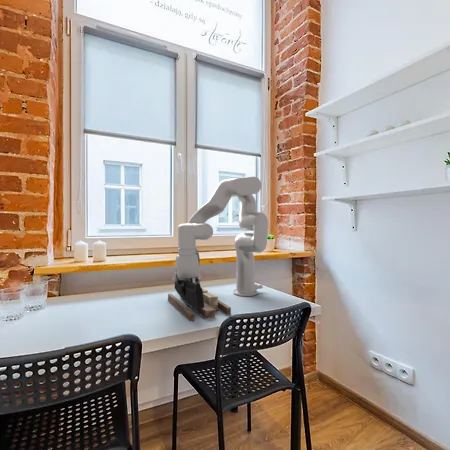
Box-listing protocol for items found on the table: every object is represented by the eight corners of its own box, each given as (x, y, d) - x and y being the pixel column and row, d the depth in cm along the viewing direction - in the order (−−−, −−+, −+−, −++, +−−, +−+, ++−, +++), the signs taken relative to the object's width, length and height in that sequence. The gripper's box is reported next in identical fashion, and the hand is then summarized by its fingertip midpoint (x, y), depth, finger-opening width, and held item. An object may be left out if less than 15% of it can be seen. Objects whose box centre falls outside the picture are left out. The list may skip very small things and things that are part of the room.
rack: (201, 295, 151) (201, 290, 151) (230, 314, 122) (230, 307, 122) (168, 300, 143) (168, 293, 143) (190, 321, 115) (190, 313, 115)
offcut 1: (201, 299, 146) (201, 287, 145) (207, 303, 138) (207, 290, 138) (193, 300, 144) (193, 287, 144) (199, 304, 137) (199, 291, 136)
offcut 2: (210, 305, 136) (210, 292, 136) (217, 310, 129) (217, 296, 128) (202, 306, 134) (202, 293, 134) (209, 311, 127) (209, 297, 127)
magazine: (206, 289, 115) (183, 257, 141) (198, 290, 114) (176, 258, 139) (202, 327, 120) (180, 289, 146) (194, 328, 119) (173, 290, 144)
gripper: (201, 250, 137) (202, 289, 138) (166, 252, 130) (167, 294, 131) (207, 252, 130) (208, 293, 131) (171, 254, 123) (171, 298, 124)
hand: (187, 293), depth 131 cm, fingers closed on magazine, 3 cm apart
